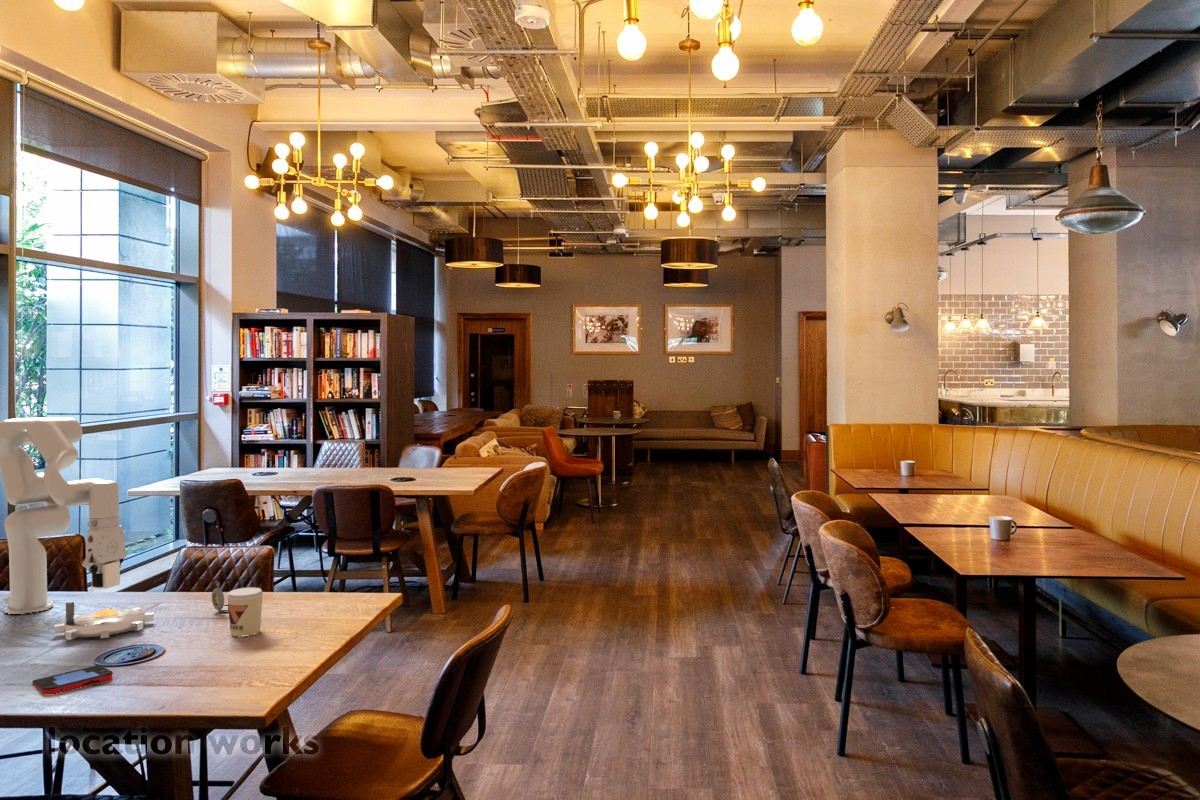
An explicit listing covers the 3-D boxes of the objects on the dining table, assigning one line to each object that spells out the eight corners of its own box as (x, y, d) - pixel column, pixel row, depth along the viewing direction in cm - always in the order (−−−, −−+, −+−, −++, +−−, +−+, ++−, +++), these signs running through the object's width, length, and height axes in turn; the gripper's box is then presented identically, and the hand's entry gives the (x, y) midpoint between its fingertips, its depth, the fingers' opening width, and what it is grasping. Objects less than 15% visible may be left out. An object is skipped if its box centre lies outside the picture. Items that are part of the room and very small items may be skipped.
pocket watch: (245, 607, 258) (244, 576, 258) (230, 615, 250) (230, 582, 249) (220, 606, 259) (220, 575, 258) (205, 614, 250) (204, 582, 250)
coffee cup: (220, 635, 230) (219, 593, 230) (248, 626, 238) (247, 585, 238) (242, 640, 226) (242, 597, 226) (270, 630, 234) (269, 589, 234)
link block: (92, 587, 238) (91, 563, 238) (106, 583, 243) (105, 559, 243) (105, 588, 237) (105, 564, 236) (120, 584, 241) (119, 560, 241)
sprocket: (51, 645, 218) (51, 615, 218) (57, 621, 239) (57, 594, 239) (155, 630, 231) (154, 602, 230) (152, 609, 252) (151, 583, 251)
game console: (99, 669, 205) (99, 660, 205) (115, 682, 196) (115, 672, 196) (31, 684, 195) (31, 675, 194) (45, 699, 186) (44, 689, 186)
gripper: (89, 528, 230) (91, 592, 231) (138, 518, 247) (139, 578, 247) (68, 527, 232) (70, 591, 232) (118, 517, 248) (119, 576, 249)
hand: (105, 583), depth 240 cm, fingers closed on link block, 4 cm apart
